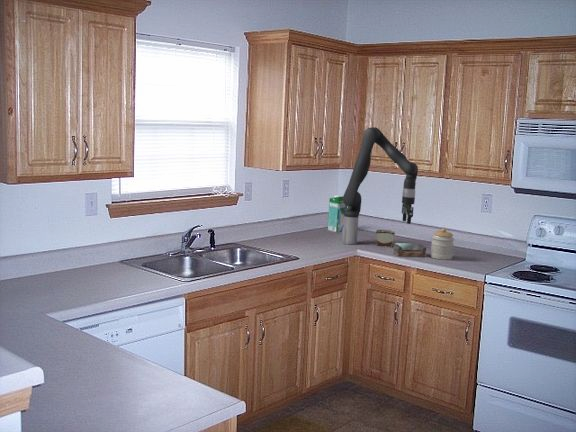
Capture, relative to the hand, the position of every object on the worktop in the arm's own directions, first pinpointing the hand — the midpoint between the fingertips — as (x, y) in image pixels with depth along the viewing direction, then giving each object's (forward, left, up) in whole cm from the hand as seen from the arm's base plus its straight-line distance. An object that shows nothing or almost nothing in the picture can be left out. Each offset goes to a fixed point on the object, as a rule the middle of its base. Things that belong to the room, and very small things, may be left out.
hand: (406, 222), depth 404 cm
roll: (0, +1, -16) cm, 16 cm away
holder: (0, -10, -18) cm, 21 cm away
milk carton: (-28, +65, -18) cm, 73 cm away
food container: (-8, +16, -18) cm, 26 cm away
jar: (+18, -15, -18) cm, 30 cm away
